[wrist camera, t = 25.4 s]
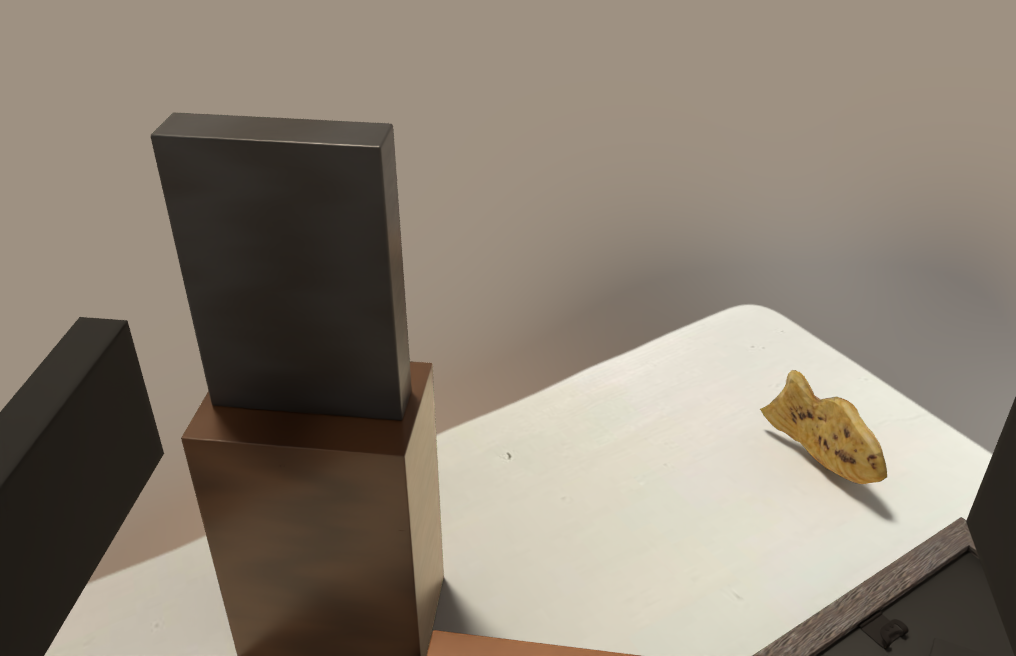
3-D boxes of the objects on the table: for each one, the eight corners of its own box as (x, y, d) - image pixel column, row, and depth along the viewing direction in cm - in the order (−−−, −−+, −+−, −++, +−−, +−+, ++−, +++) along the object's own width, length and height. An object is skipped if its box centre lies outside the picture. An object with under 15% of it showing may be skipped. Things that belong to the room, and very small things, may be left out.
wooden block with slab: (237, 656, 46) (108, 159, 31) (276, 560, 51) (180, 89, 36) (422, 676, 45) (382, 175, 30) (444, 576, 50) (418, 101, 35)
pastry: (887, 501, 55) (909, 435, 52) (870, 512, 54) (891, 446, 51) (769, 418, 61) (782, 354, 58) (752, 427, 60) (765, 363, 57)
